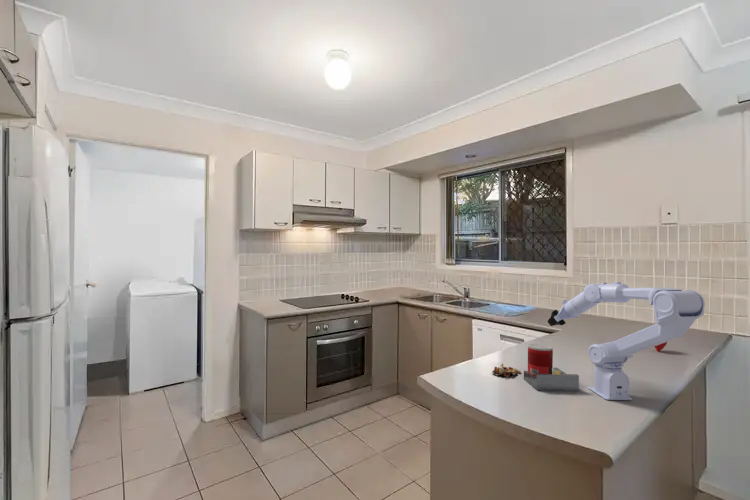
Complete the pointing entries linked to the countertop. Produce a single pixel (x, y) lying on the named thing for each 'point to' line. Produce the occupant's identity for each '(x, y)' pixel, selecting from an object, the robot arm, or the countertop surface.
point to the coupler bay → (553, 381)
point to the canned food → (540, 359)
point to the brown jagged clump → (505, 371)
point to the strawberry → (660, 346)
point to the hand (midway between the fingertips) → (556, 319)
